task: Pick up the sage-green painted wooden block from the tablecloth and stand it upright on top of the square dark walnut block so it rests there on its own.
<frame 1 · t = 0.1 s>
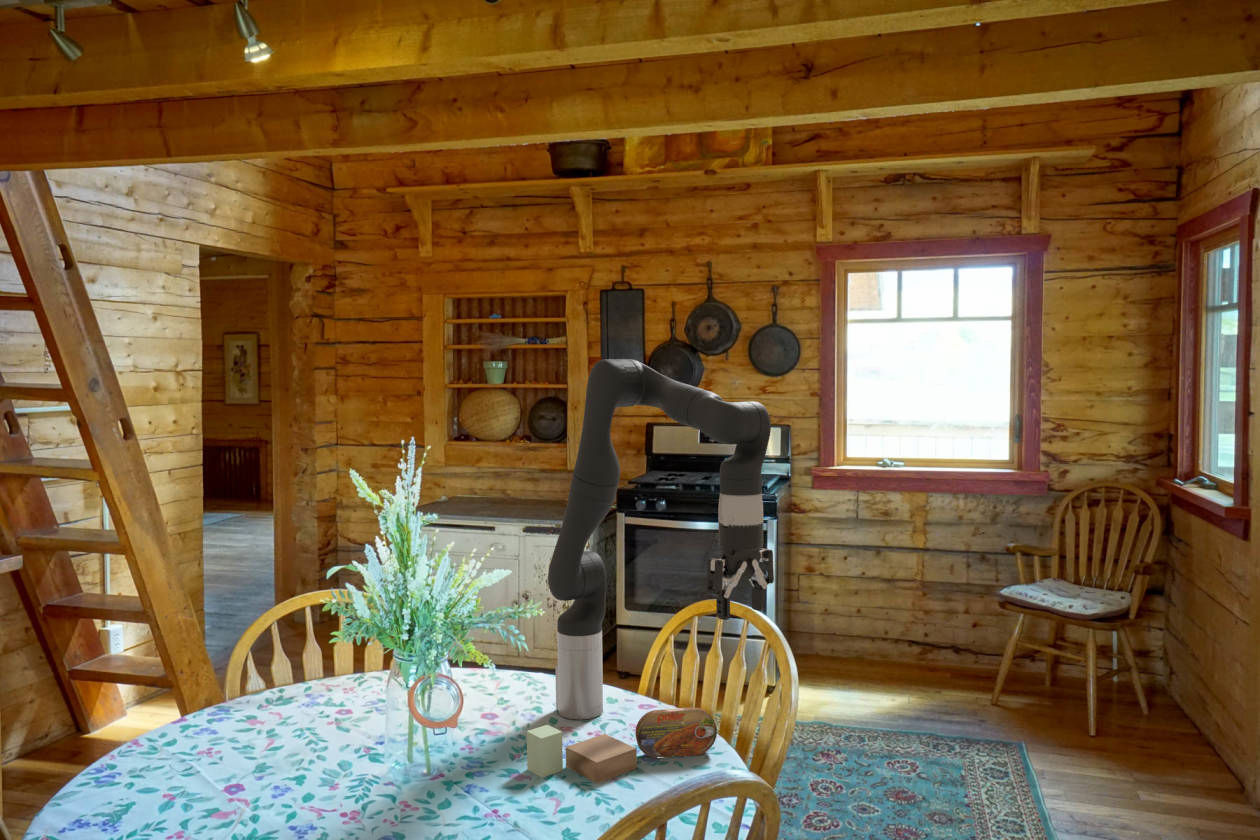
hand: (741, 614, 161), 29 cm above the table, fingers open, 8 cm apart
sage block: (545, 770, 169), on the table
tin: (675, 755, 175), on the table
walnut base: (601, 769, 169), on the table
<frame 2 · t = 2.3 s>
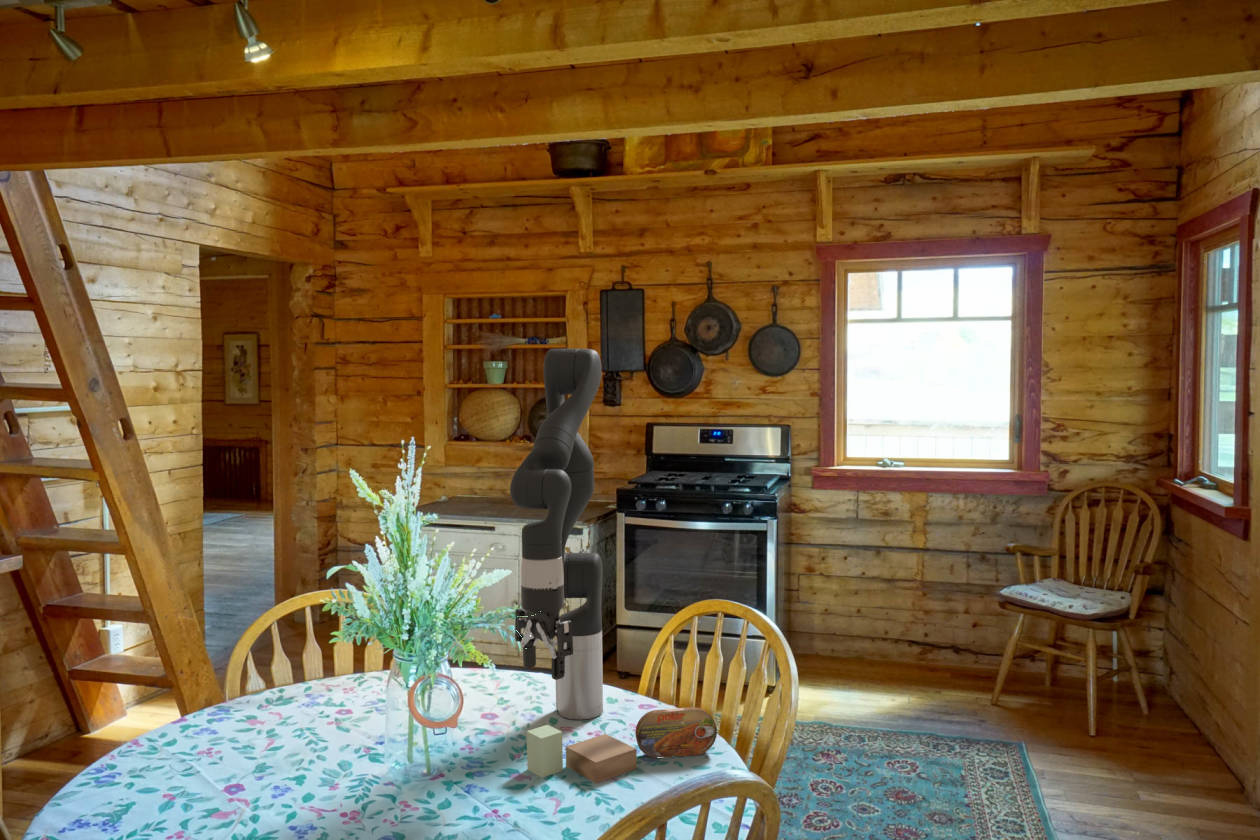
hand: (543, 672, 168), 18 cm above the table, fingers open, 8 cm apart
nothing on the table moved.
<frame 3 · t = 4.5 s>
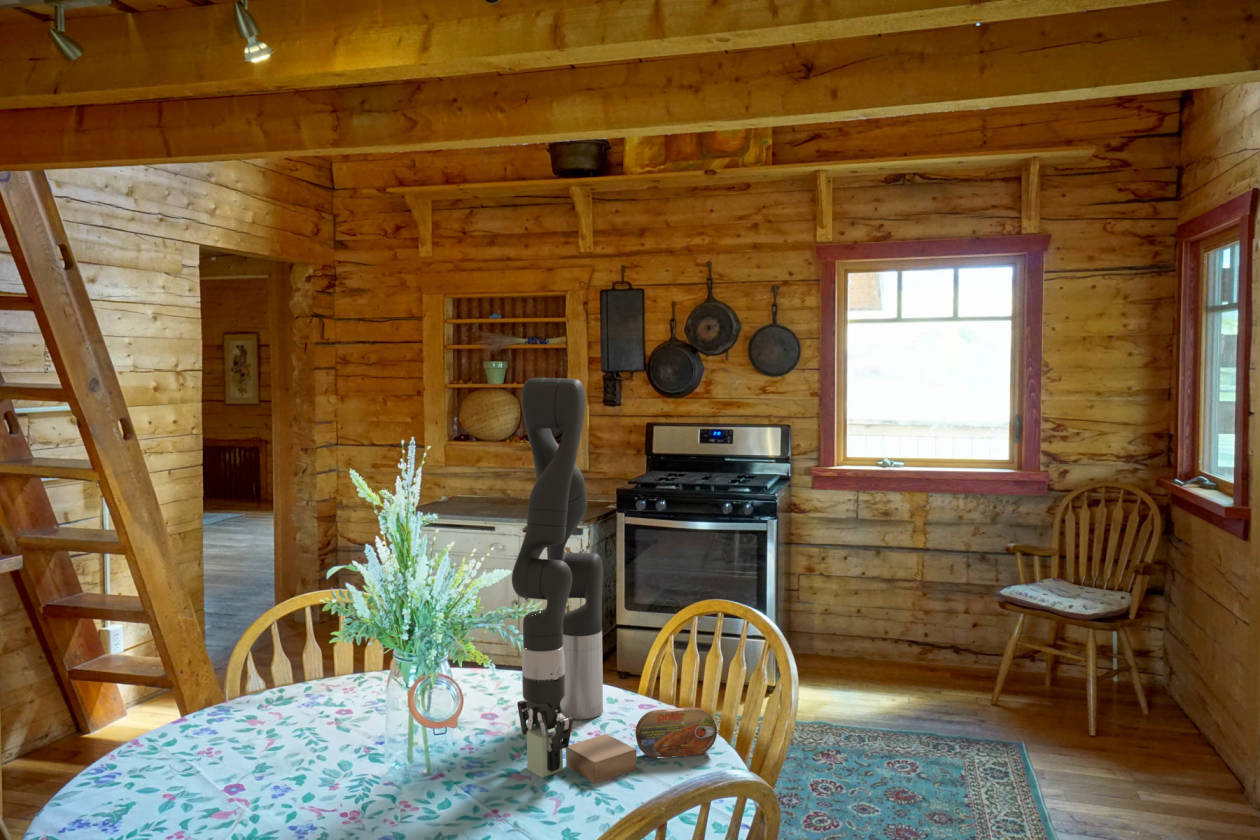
hand: (545, 765, 169), 1 cm above the table, fingers closed on sage block, 4 cm apart
sage block: (545, 769, 169), on the table, touching gripper
everything else where it was.
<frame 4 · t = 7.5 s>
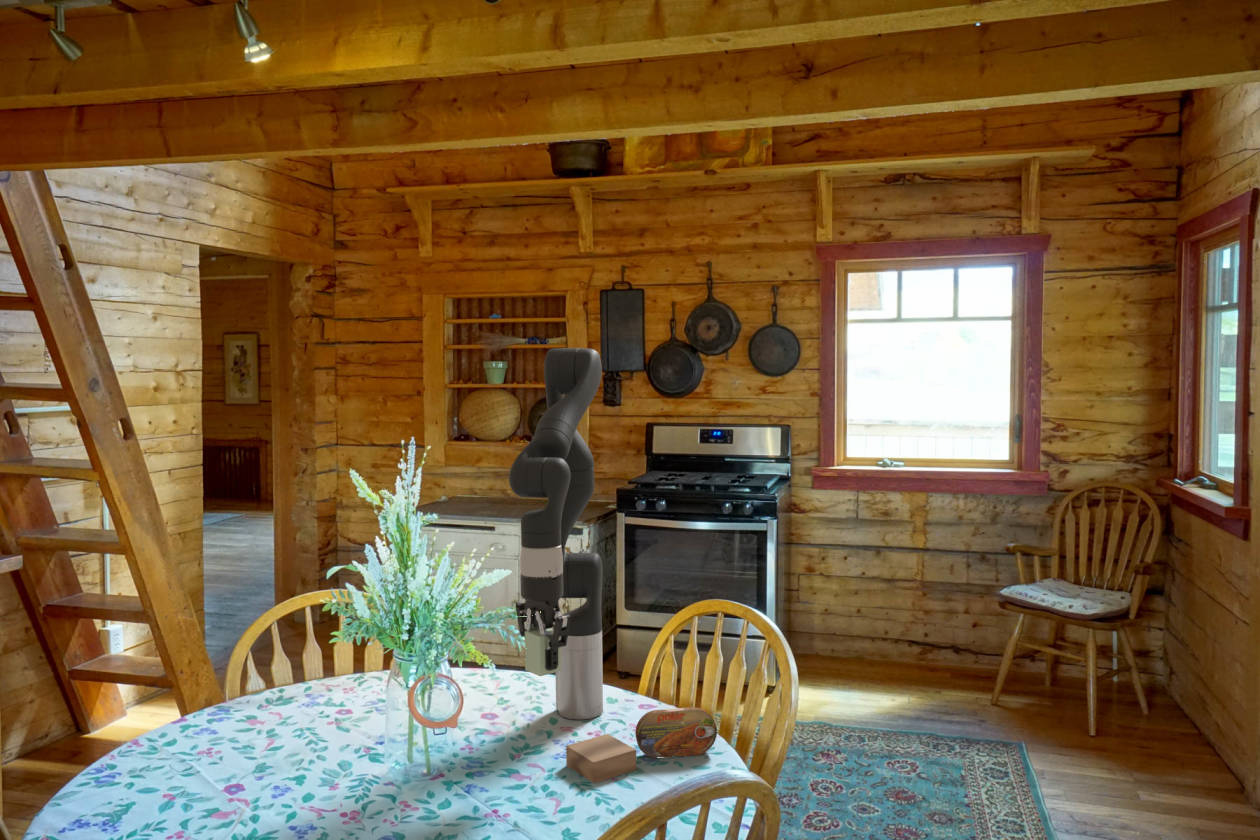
hand: (543, 665, 168), 19 cm above the table, fingers closed on sage block, 4 cm apart
sage block: (543, 670, 168), point 18 cm above the table, touching gripper
everything else where it was.
when the fingers open (6 cm above the table, at t = 11.0 s): sage block drops 1 cm, point 4 cm above the table.
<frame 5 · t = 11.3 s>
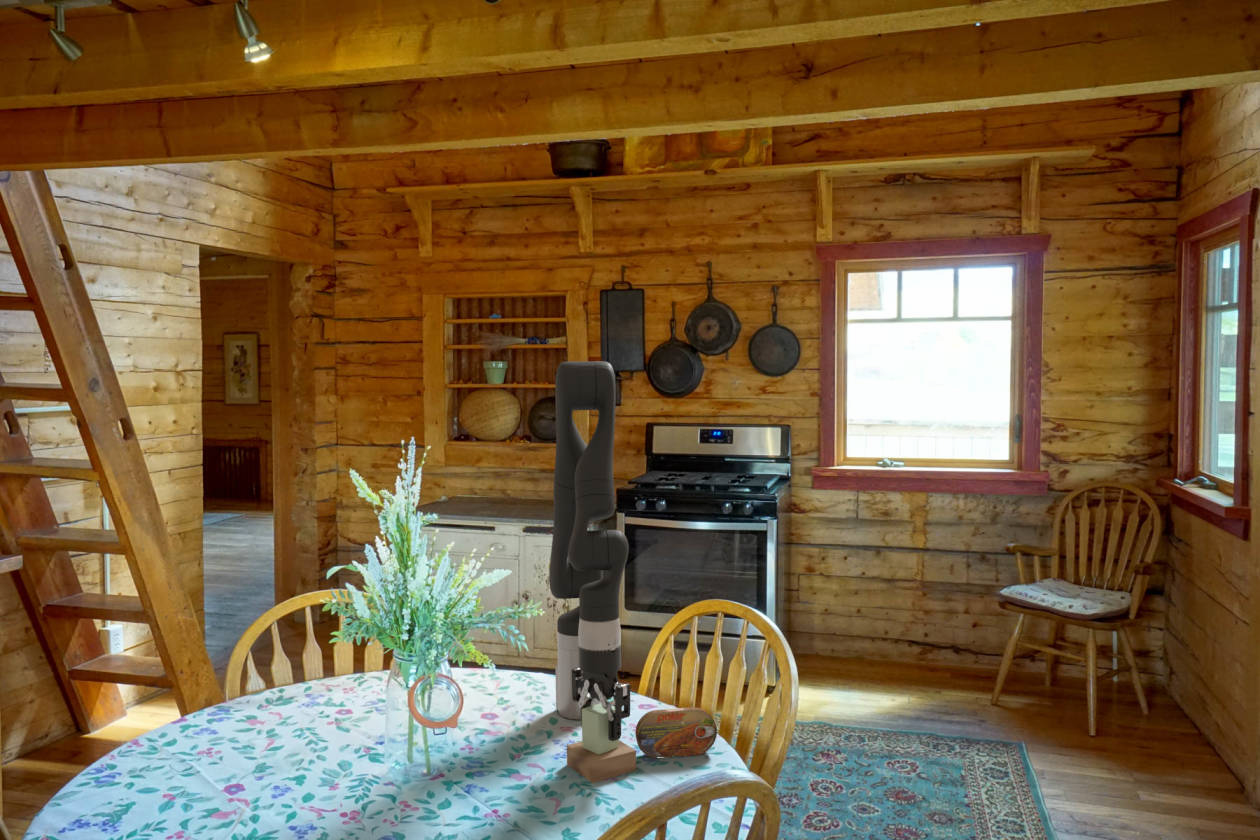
hand: (600, 733, 169), 6 cm above the table, fingers open, 7 cm apart
sage block: (600, 747, 169), point 4 cm above the table
everything else where it was.
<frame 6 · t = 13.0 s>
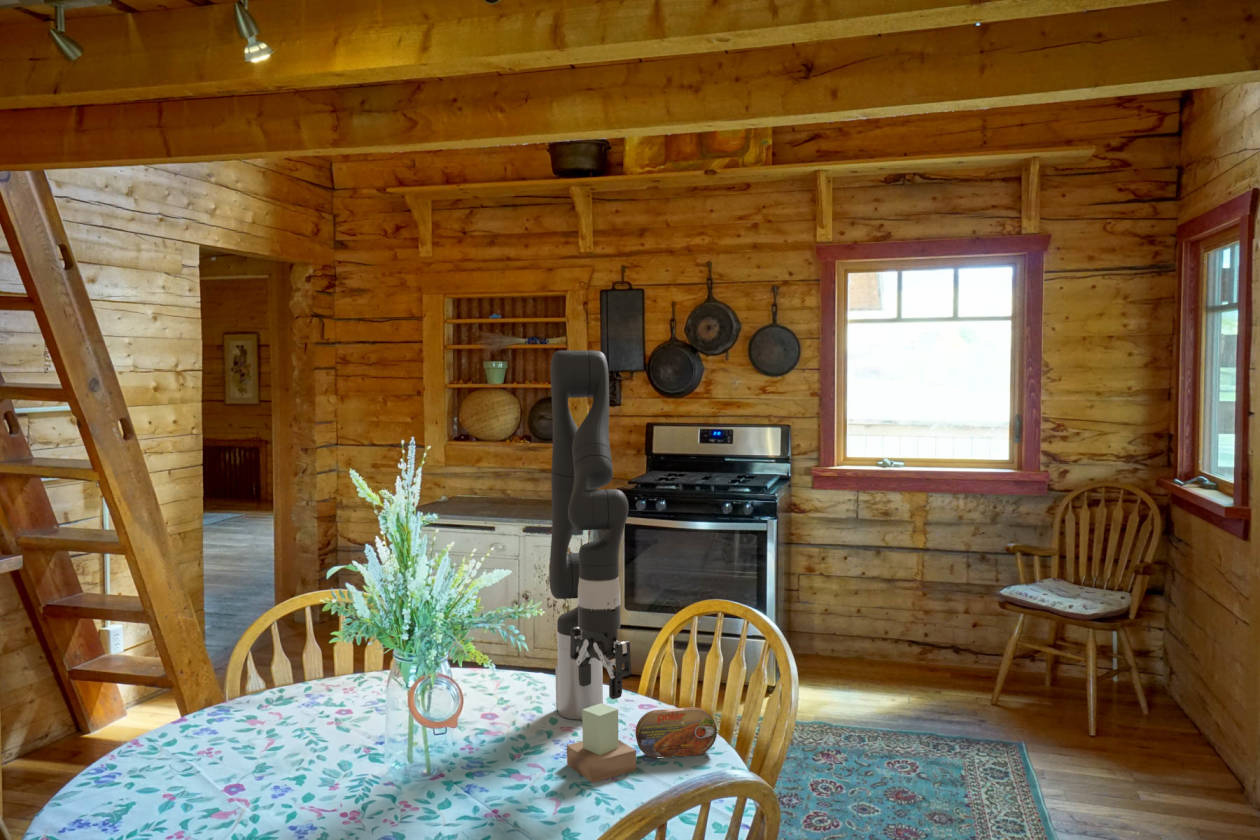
hand: (600, 691, 169), 14 cm above the table, fingers open, 8 cm apart
nothing on the table moved.
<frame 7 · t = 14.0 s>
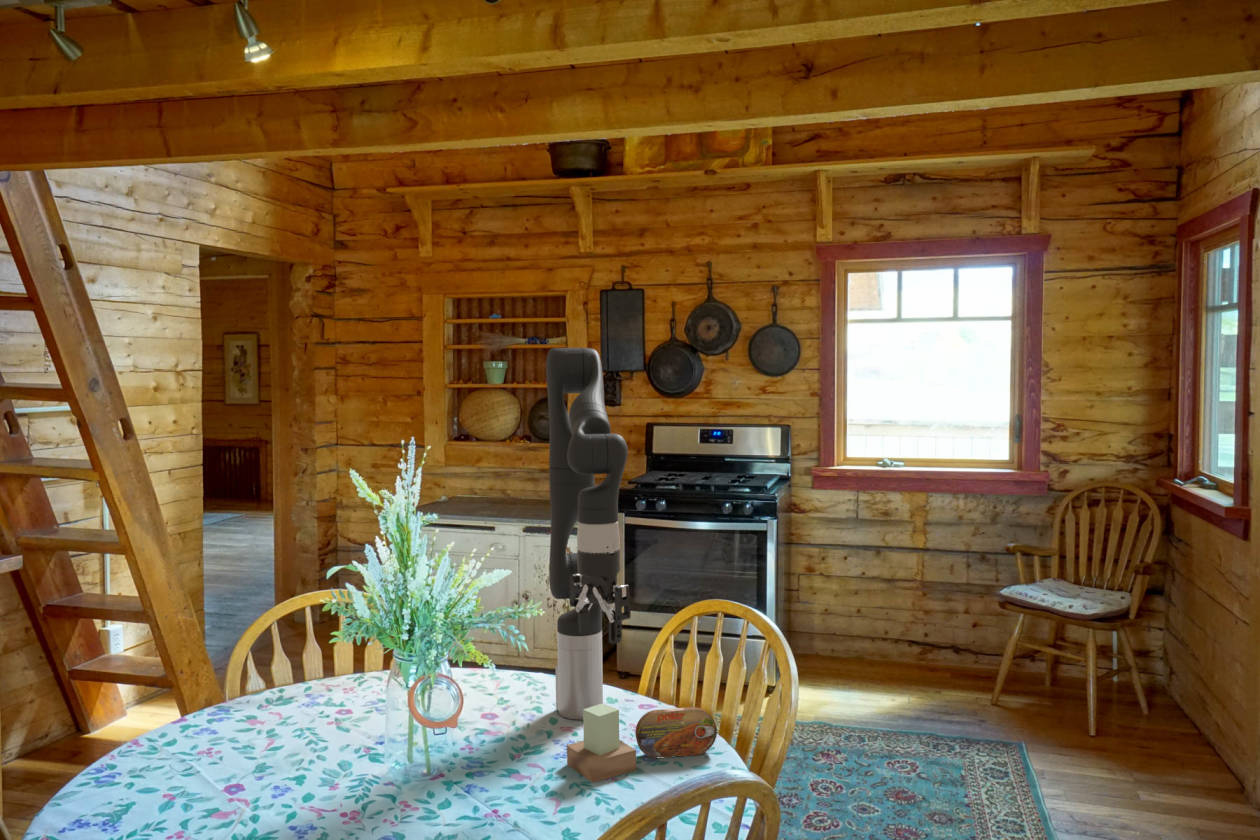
hand: (599, 637, 168), 24 cm above the table, fingers open, 8 cm apart
nothing on the table moved.
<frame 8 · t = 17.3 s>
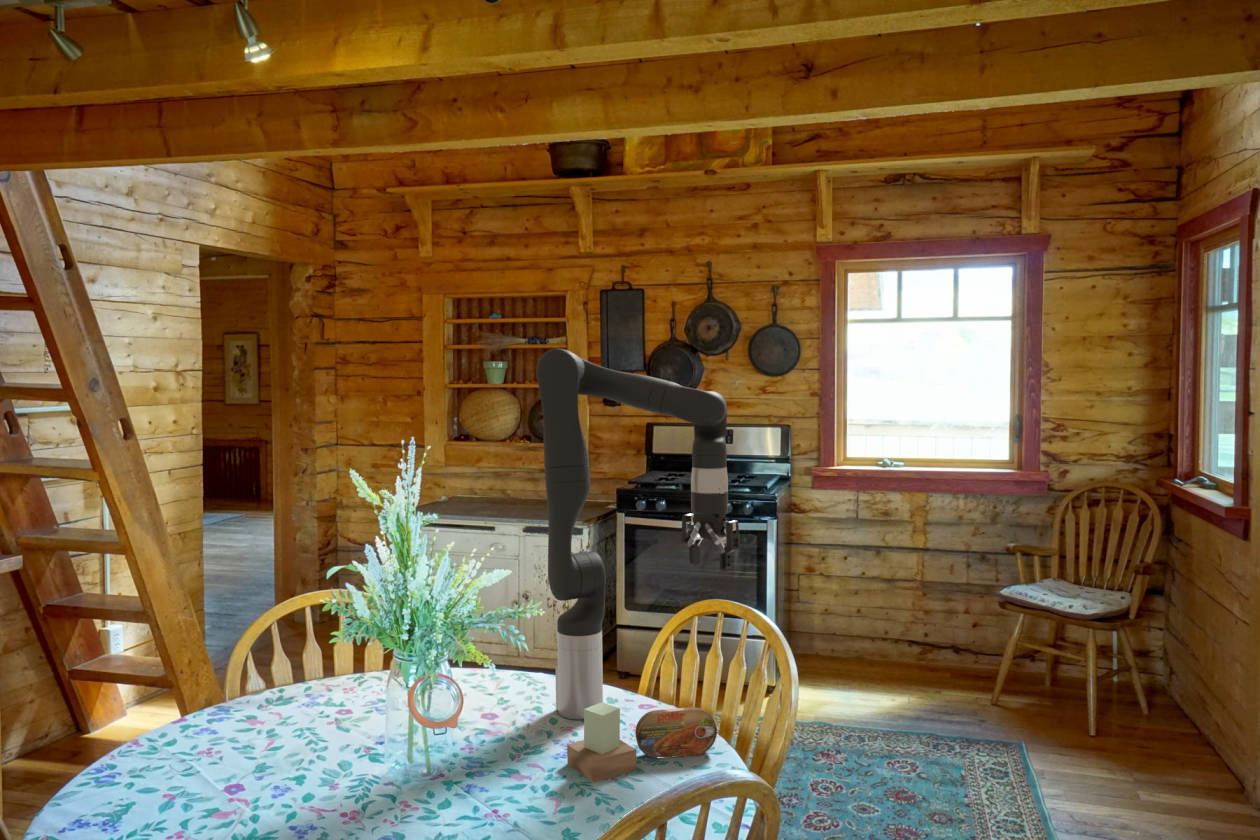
hand: (709, 567, 194), 30 cm above the table, fingers open, 8 cm apart
nothing on the table moved.
at the end: sage block 0.1 cm off-centre on the walnut base, point 4.1 cm above the walnut base's base; sage block tilted 1°; the gripper is holding nothing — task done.
